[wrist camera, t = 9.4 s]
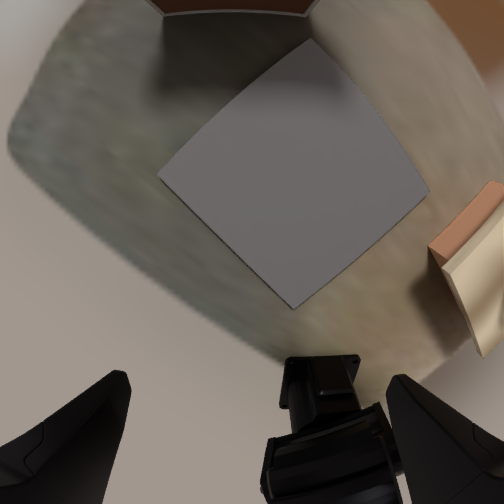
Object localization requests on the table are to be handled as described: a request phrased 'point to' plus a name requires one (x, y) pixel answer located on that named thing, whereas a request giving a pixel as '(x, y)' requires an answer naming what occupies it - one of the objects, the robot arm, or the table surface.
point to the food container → (234, 6)
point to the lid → (481, 282)
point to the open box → (466, 225)
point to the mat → (297, 174)
